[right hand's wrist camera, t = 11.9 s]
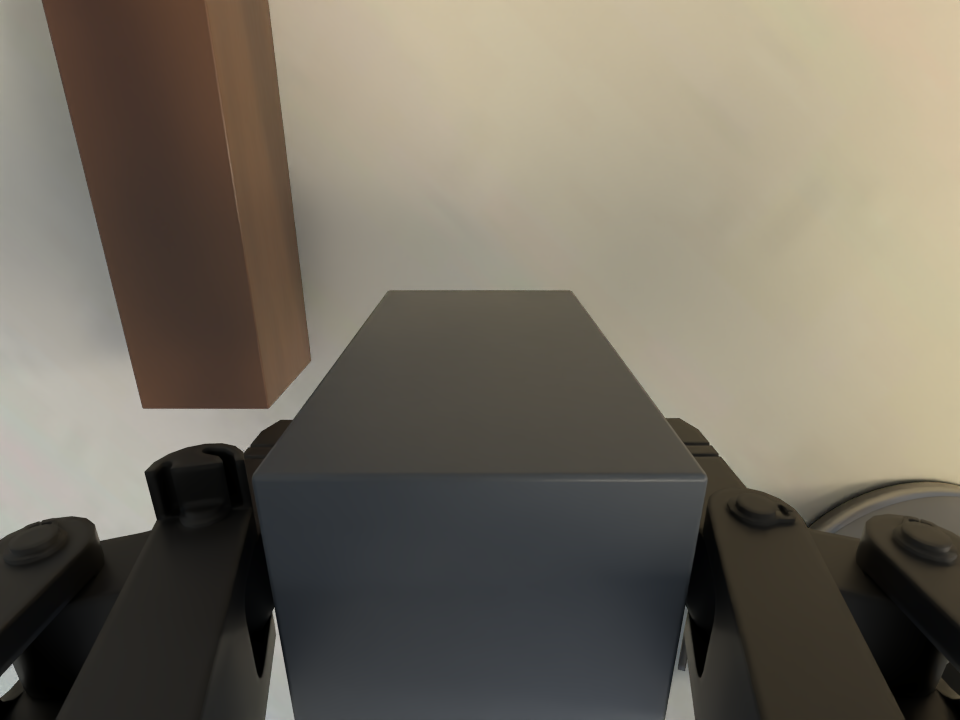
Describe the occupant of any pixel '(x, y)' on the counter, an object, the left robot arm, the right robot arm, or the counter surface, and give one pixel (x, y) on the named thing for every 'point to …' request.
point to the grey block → (479, 520)
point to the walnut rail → (189, 192)
